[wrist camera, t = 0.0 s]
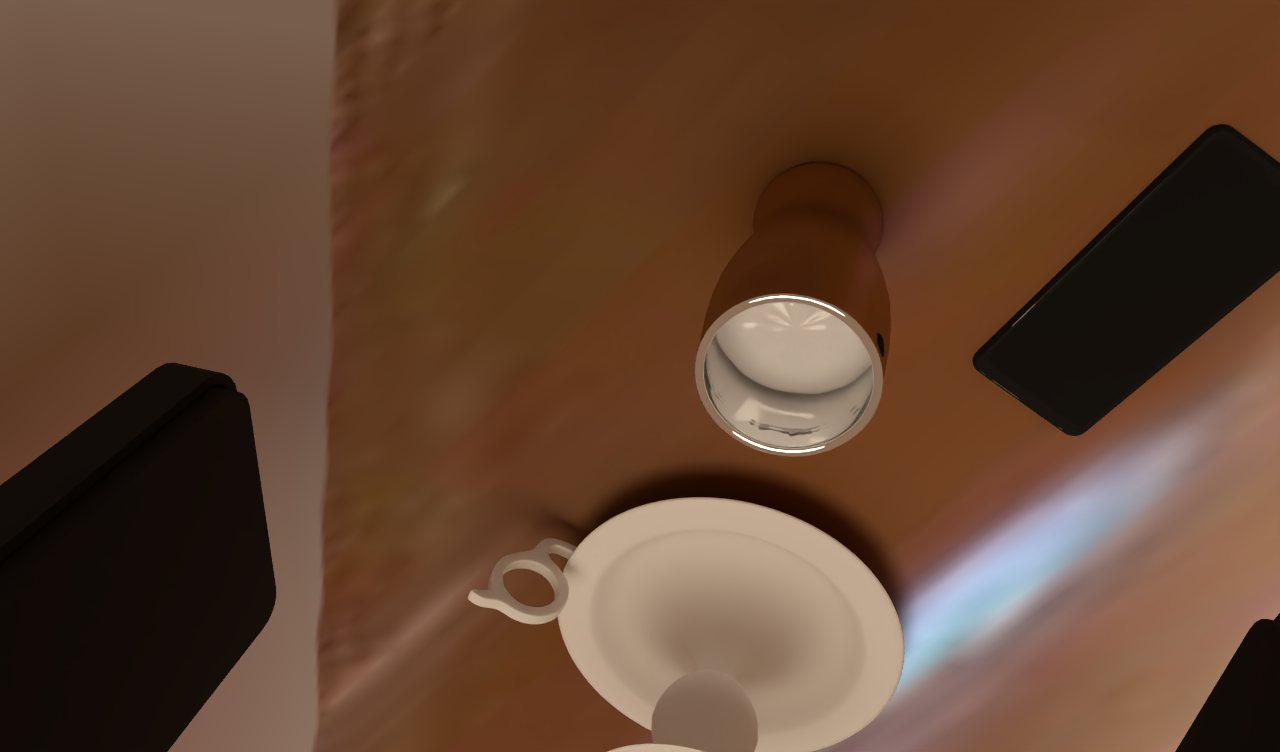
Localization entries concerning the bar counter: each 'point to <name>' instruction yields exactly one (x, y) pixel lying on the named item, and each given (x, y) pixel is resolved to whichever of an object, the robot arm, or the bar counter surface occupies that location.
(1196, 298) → the smartphone
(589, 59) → the bar counter surface
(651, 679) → the candlestick
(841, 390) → the beer glass
